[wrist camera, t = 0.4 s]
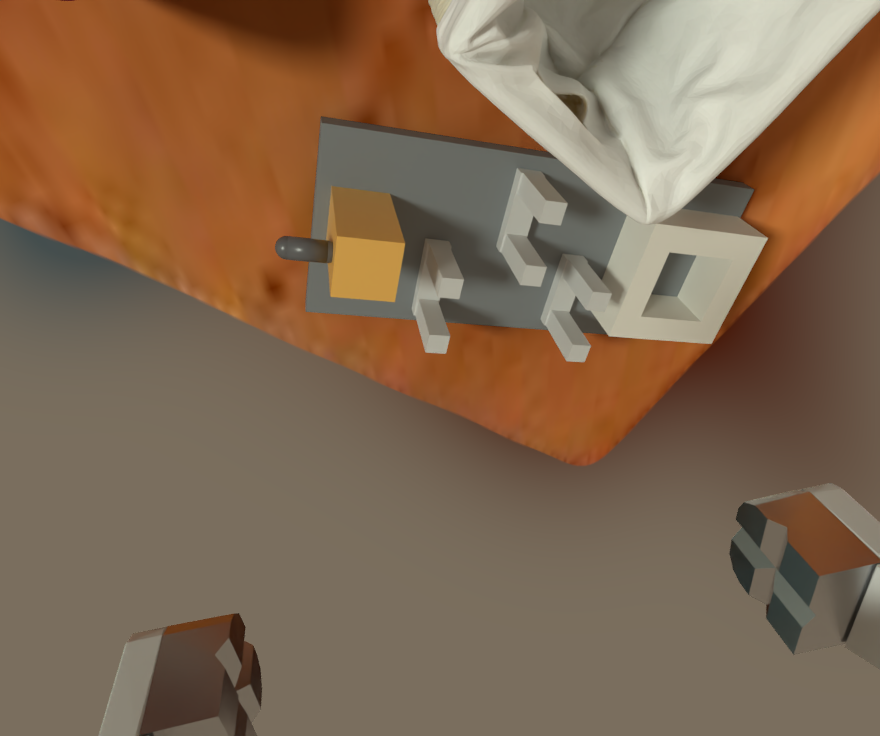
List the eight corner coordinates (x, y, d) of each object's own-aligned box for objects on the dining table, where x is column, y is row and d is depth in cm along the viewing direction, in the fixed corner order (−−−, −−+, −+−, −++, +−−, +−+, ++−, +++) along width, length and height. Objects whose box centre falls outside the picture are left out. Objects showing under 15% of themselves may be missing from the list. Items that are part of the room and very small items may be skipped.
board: (320, 116, 40) (324, 152, 34) (743, 182, 49) (804, 221, 43) (305, 301, 48) (306, 357, 42) (671, 330, 56) (714, 380, 51)
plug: (279, 179, 41) (275, 229, 34) (389, 193, 42) (405, 243, 36) (276, 235, 43) (272, 292, 36) (381, 246, 45) (394, 302, 38)
